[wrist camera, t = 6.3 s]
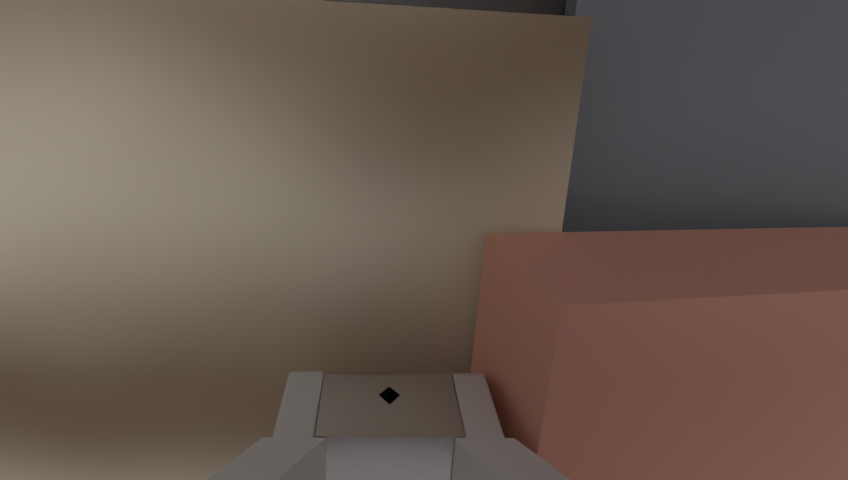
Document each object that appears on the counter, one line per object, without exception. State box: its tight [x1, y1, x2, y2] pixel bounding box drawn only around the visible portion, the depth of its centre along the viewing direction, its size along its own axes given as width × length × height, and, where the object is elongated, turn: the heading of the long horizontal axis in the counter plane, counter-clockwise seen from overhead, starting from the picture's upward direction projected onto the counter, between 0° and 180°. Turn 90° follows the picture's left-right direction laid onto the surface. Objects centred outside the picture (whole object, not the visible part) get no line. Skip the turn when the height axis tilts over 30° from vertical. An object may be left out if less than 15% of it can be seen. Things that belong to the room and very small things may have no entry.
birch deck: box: [0, 0, 592, 480], centre depth 11 cm, size 12×11×2 cm
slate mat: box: [562, 0, 848, 232], centre depth 12 cm, size 16×11×1 cm
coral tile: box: [470, 227, 848, 480], centre depth 10 cm, size 9×6×2 cm, turn 86°
